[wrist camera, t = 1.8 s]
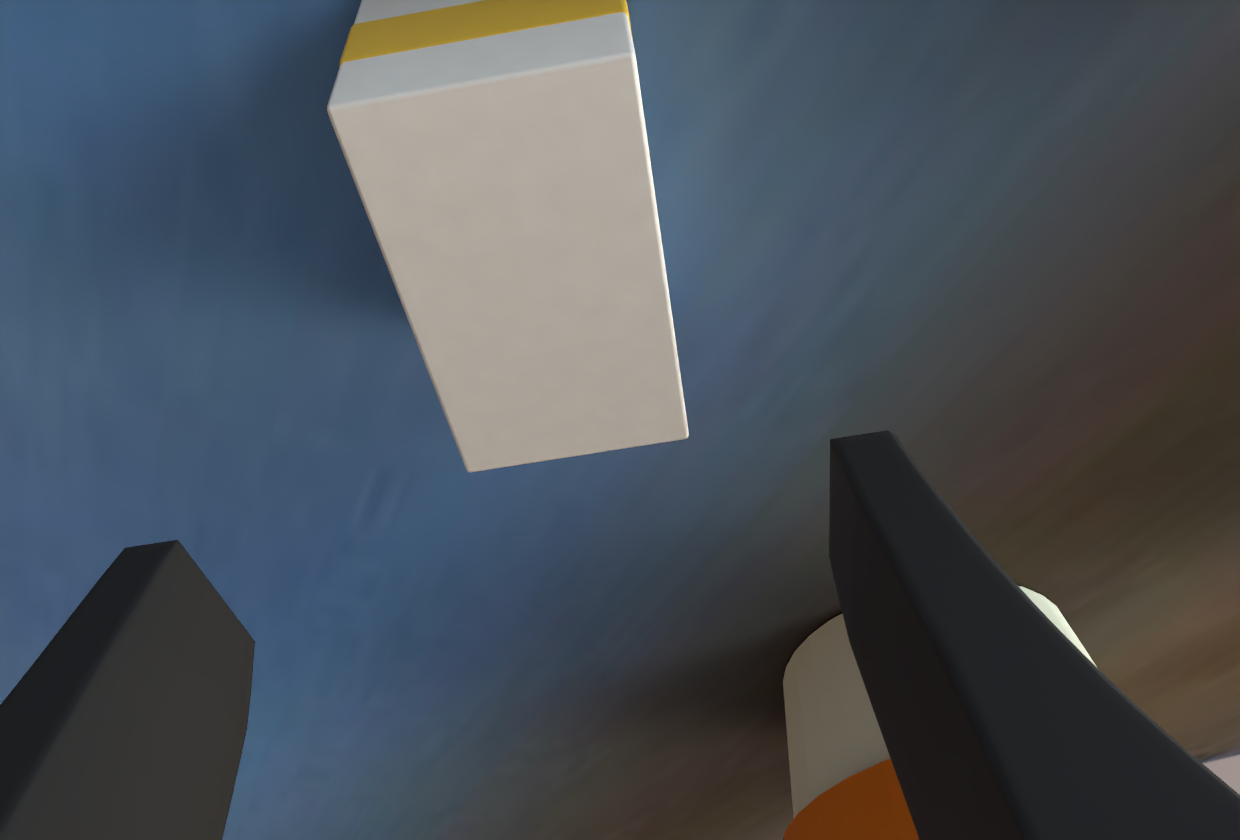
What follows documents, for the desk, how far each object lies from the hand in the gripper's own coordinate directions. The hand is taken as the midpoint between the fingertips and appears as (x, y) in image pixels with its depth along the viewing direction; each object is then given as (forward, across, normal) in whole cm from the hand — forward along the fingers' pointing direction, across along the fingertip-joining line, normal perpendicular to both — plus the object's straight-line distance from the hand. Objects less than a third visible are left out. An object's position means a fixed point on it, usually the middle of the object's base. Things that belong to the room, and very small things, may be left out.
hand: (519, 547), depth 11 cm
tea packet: (+9, 0, 0) cm, 9 cm away
